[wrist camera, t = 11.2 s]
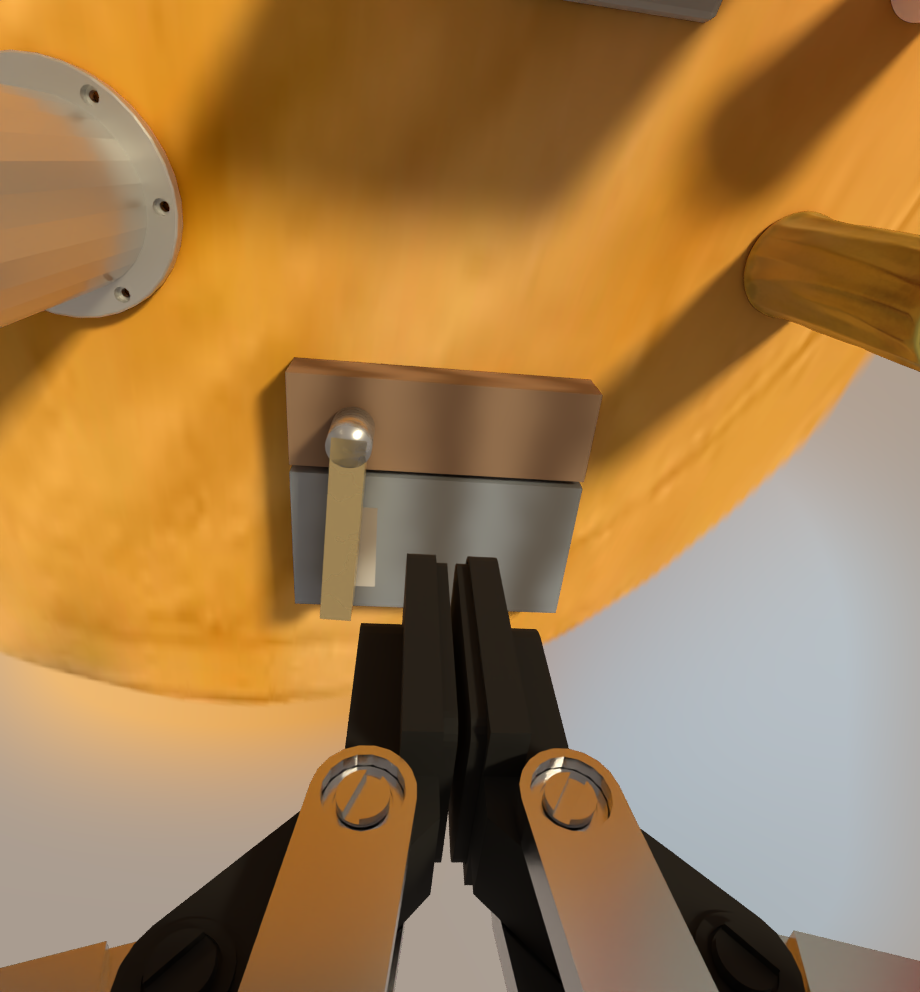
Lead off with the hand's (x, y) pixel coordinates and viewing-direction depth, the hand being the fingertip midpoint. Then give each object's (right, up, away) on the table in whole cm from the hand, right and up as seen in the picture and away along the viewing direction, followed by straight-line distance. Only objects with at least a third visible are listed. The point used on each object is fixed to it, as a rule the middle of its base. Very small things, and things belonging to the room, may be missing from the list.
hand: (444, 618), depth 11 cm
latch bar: (-7, +2, +28) cm, 29 cm away
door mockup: (-1, +3, +32) cm, 32 cm away
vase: (+20, +16, +26) cm, 37 cm away
